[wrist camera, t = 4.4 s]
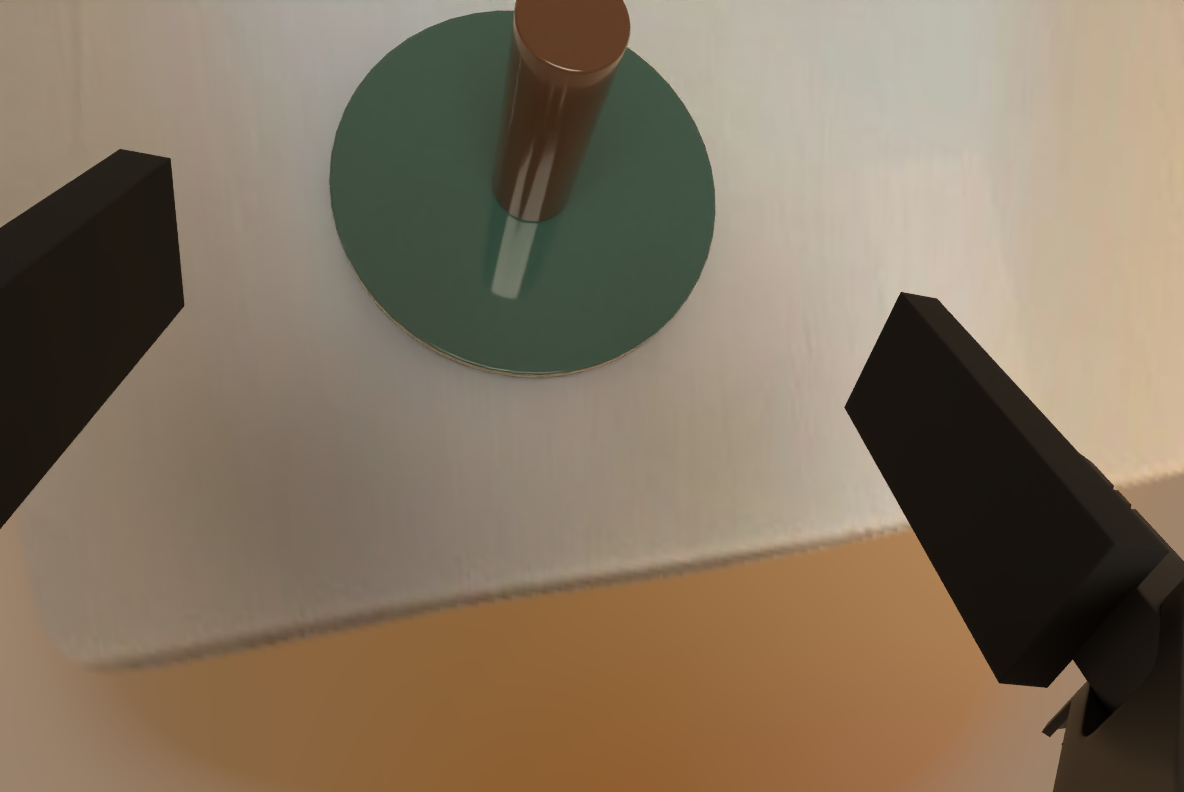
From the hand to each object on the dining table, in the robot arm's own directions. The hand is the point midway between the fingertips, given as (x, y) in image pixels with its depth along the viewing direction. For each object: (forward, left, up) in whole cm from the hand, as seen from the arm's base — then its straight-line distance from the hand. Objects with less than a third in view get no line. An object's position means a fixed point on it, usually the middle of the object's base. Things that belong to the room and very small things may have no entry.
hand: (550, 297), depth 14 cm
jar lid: (-1, +8, -12) cm, 14 cm away
